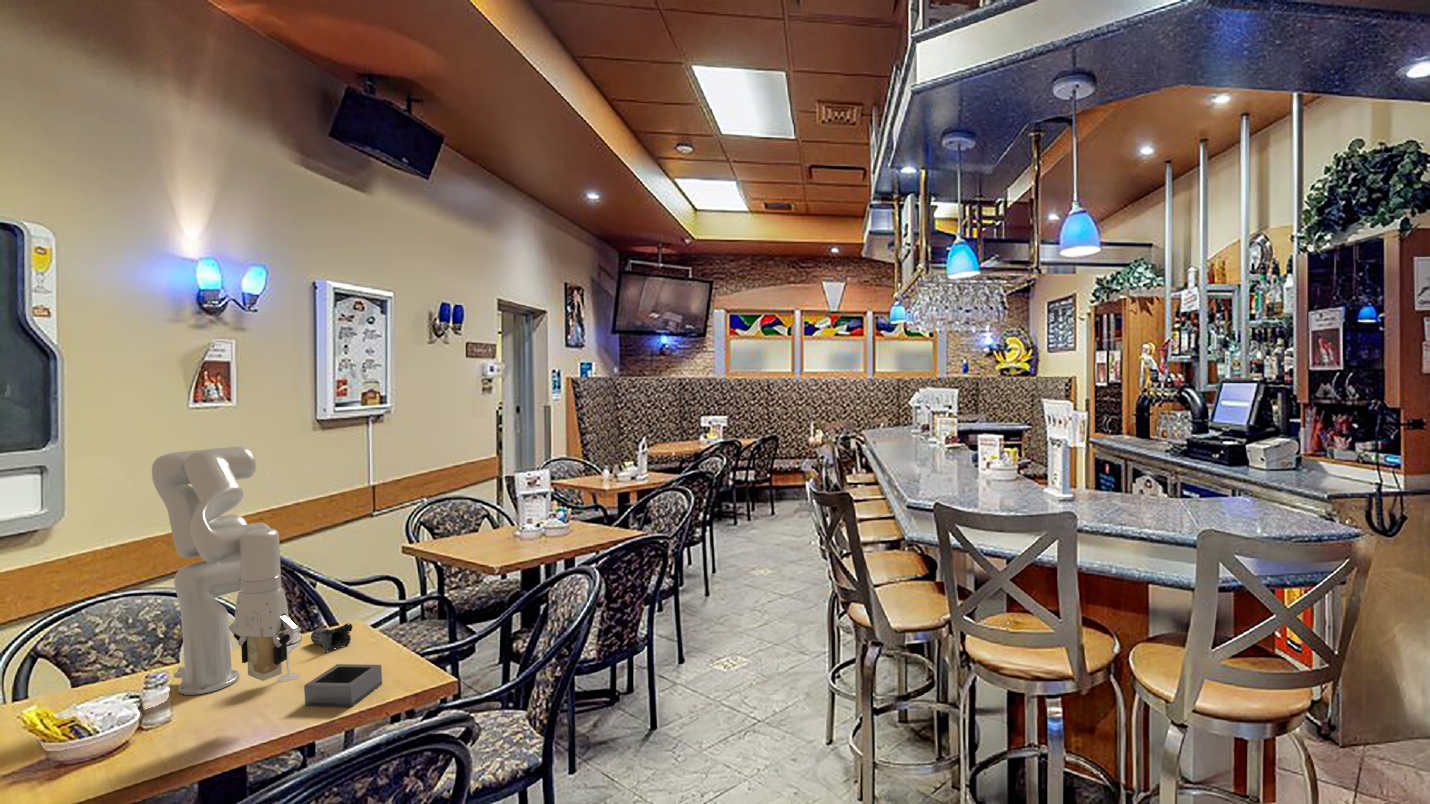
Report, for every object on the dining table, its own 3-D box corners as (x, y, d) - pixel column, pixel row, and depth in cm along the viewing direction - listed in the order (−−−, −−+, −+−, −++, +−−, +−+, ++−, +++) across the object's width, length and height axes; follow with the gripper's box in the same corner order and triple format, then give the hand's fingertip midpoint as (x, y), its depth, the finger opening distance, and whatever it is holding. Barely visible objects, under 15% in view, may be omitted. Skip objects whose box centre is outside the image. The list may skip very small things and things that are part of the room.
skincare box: (247, 676, 155) (244, 623, 154) (267, 668, 159) (264, 616, 158) (263, 682, 152) (261, 628, 151) (283, 674, 156) (281, 621, 155)
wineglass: (309, 671, 180) (307, 626, 180) (291, 683, 174) (288, 636, 173) (285, 671, 181) (283, 626, 181) (266, 682, 174) (264, 636, 174)
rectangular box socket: (305, 706, 161) (304, 685, 160) (338, 683, 172) (337, 664, 172) (352, 707, 159) (350, 686, 159) (382, 684, 171) (381, 664, 171)
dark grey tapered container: (351, 650, 198) (327, 645, 204) (354, 622, 199) (330, 618, 205) (320, 655, 190) (296, 650, 196) (323, 627, 192) (299, 622, 198)
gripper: (212, 588, 151) (216, 667, 152) (284, 591, 149) (287, 670, 150) (239, 578, 159) (242, 652, 160) (308, 580, 157) (311, 656, 158)
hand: (264, 660), depth 155 cm, fingers closed on skincare box, 7 cm apart
